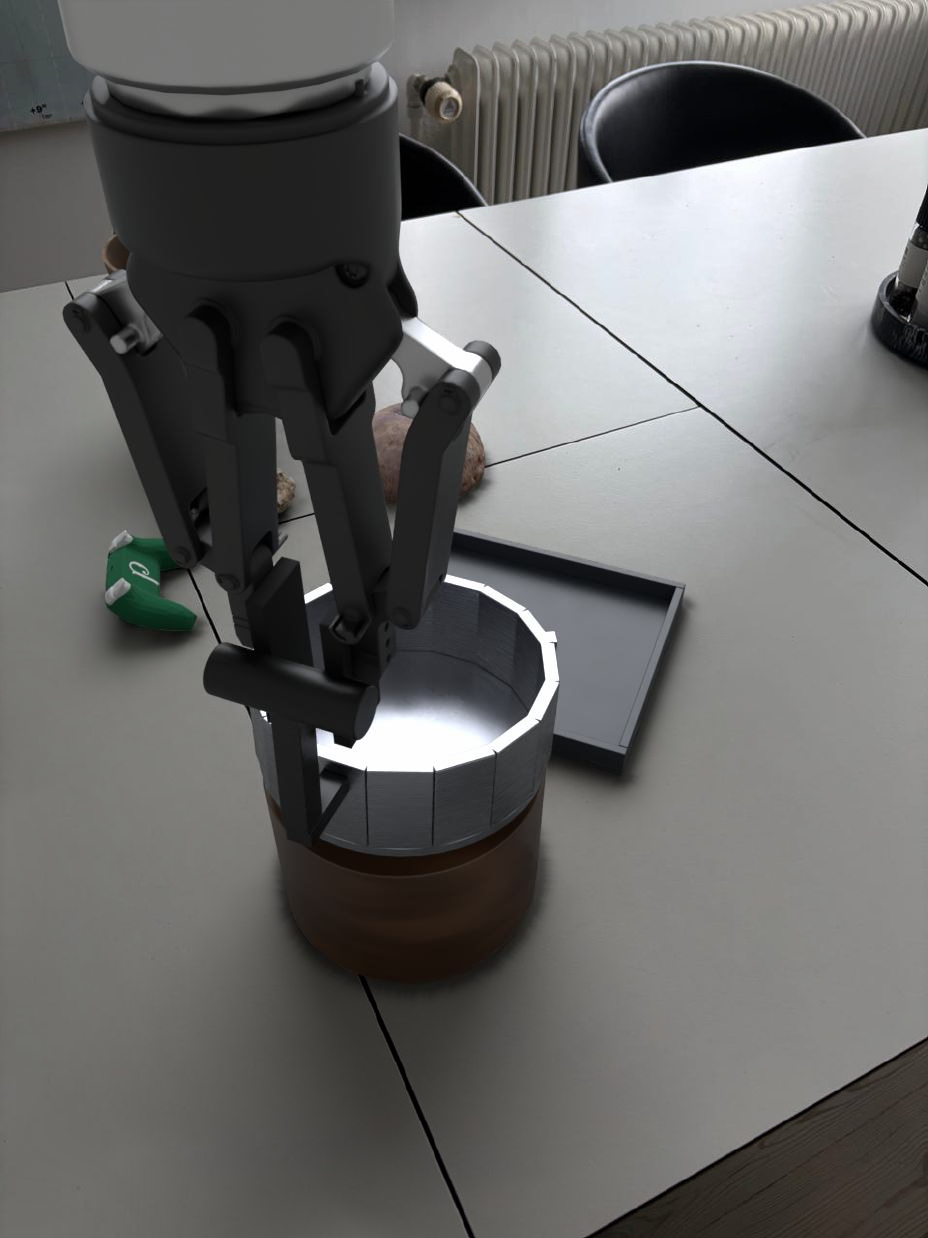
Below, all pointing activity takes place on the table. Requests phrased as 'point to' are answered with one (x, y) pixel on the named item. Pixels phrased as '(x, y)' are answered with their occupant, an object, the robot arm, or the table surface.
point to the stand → (412, 899)
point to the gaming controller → (142, 585)
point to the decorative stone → (389, 446)
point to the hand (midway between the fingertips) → (324, 710)
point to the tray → (584, 636)
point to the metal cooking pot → (405, 727)
